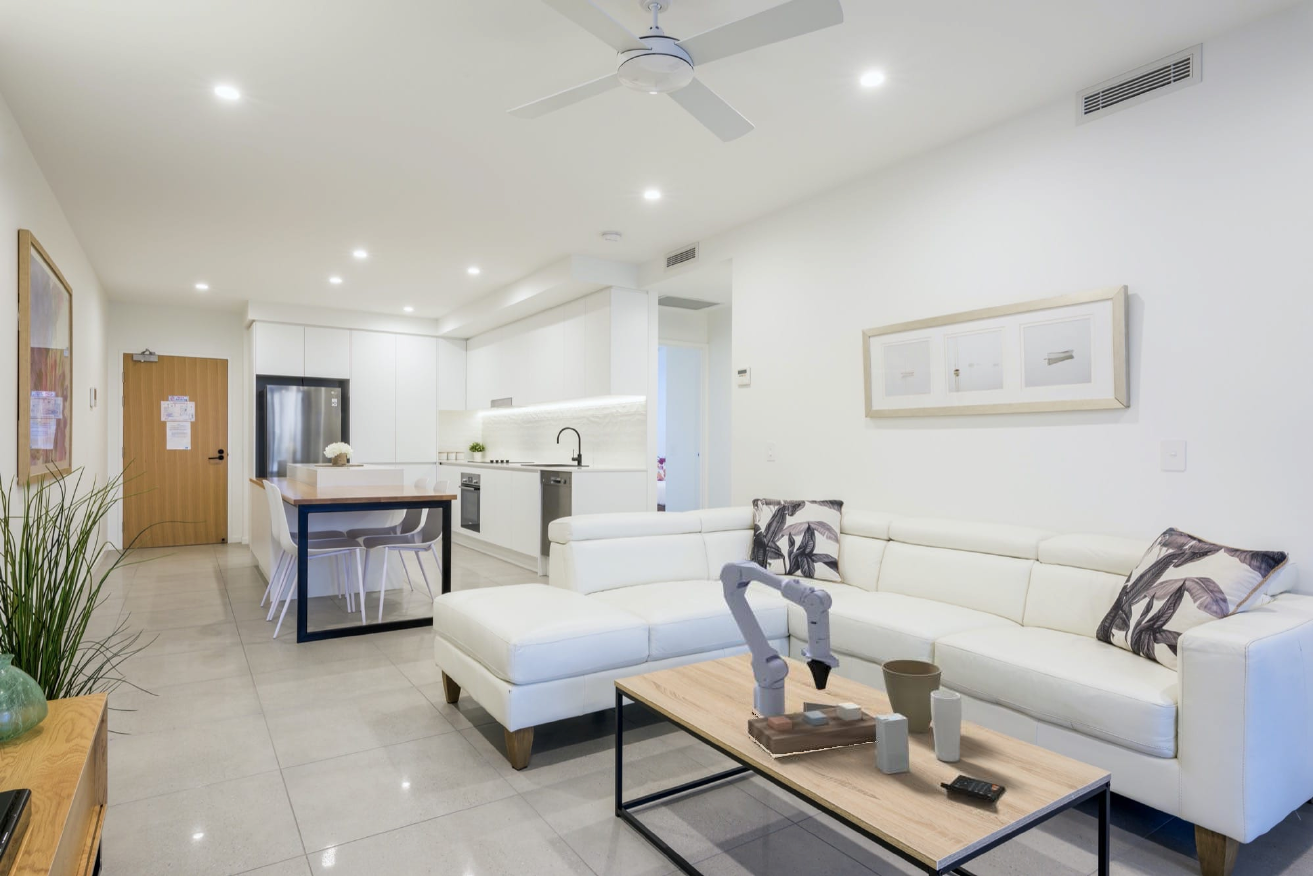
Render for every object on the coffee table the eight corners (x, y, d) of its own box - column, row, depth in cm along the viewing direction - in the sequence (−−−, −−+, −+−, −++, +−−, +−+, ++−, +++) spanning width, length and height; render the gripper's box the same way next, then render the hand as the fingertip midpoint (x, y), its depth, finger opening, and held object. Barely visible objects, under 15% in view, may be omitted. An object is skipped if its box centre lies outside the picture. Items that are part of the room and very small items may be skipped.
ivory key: (837, 717, 186) (836, 703, 186) (851, 715, 187) (851, 701, 187) (846, 723, 181) (846, 709, 182) (861, 721, 183) (861, 707, 183)
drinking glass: (944, 766, 164) (942, 700, 165) (926, 754, 171) (924, 691, 171) (969, 762, 166) (967, 697, 166) (950, 751, 172) (948, 688, 173)
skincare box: (899, 764, 165) (897, 711, 166) (910, 772, 161) (909, 718, 161) (875, 767, 164) (874, 714, 164) (886, 775, 159) (885, 721, 160)
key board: (748, 737, 183) (747, 719, 183) (852, 722, 192) (851, 705, 193) (773, 758, 170) (773, 739, 170) (884, 741, 179) (883, 722, 179)
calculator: (1004, 790, 152) (1004, 776, 152) (987, 811, 143) (987, 796, 143) (959, 778, 158) (959, 764, 158) (940, 797, 150) (940, 782, 150)
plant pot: (916, 714, 197) (914, 656, 198) (955, 733, 183) (954, 671, 184) (871, 722, 192) (870, 662, 193) (908, 742, 178) (906, 678, 179)
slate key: (803, 726, 182) (803, 712, 183) (818, 724, 184) (818, 710, 184) (812, 732, 178) (811, 718, 178) (827, 730, 180) (827, 716, 180)
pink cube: (768, 731, 179) (767, 717, 180) (783, 729, 181) (783, 715, 181) (776, 738, 175) (776, 723, 175) (792, 735, 177) (792, 721, 177)
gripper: (791, 633, 194) (792, 683, 194) (822, 644, 181) (824, 698, 180) (812, 630, 197) (814, 680, 196) (845, 641, 183) (847, 694, 183)
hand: (820, 688), depth 188 cm, fingers closed
